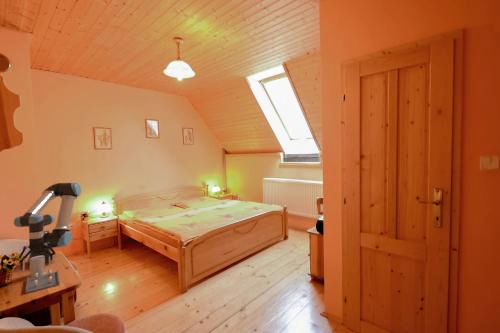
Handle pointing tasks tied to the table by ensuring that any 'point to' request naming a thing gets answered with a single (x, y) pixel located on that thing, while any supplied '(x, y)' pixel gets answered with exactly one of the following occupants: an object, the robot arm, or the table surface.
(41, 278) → the tray
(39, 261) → the cup
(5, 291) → the table surface
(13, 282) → the table surface
